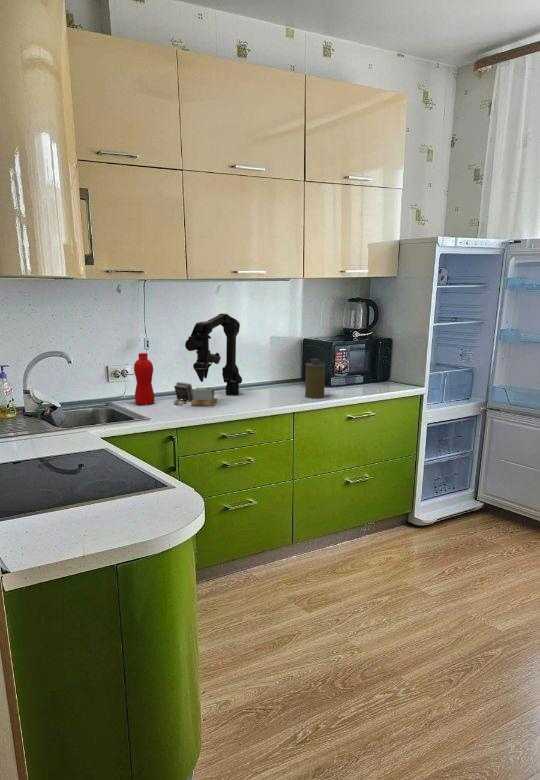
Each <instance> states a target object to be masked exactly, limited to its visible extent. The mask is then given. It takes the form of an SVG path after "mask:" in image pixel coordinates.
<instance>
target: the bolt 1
mask: <svg viewBox="0 0 540 780" xmlns="http://www.w3.org/2000/svg"><path fill="white" fill-rule="evenodd" d="M177 401H178V400H174V401H173V405H174V406H180V407H182V406H183V404H180V403H177ZM175 404H176V405H175ZM181 405H182V406H181Z"/></svg>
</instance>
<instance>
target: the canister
mask: <svg viewBox="0 0 540 780" xmlns="http://www.w3.org/2000/svg"><path fill="white" fill-rule="evenodd" d="M325 377H326V363H325V362H321V361H320V359H319V358H311V359H310V362H307V363H305V381H304V383H305V384H304V385H305V389H304V391H305V392H304V397H305V398H307V399H324V398H325V381H326V378H325Z"/></svg>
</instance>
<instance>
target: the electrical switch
mask: <svg viewBox="0 0 540 780" xmlns="http://www.w3.org/2000/svg"><path fill="white" fill-rule="evenodd" d="M174 391H175V395H176V399H183V400H189V401H188V402H191V401H192V400H193V399H194V389H193V386H192V384H191V383H188V382H182V381H180V382H179V381H177V382H176V385H174ZM183 400H182V401H183Z"/></svg>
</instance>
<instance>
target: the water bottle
mask: <svg viewBox="0 0 540 780" xmlns="http://www.w3.org/2000/svg"><path fill="white" fill-rule="evenodd" d="M148 356H149V355H148V353H146V352H139V353H138V359H137V360H136V361H135V362H134V364H133V371H134V375H135V379H136V386H135V390H134V391H135V392H134V401H135V404H136V405H138V404H139V405H138V406H143V405H146V404H147V405H153V404H154V403H155V393H154V387H153V384H152V381H153V375H154V364H153V363H152V361H151V360H150V359H149V358H148Z"/></svg>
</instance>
